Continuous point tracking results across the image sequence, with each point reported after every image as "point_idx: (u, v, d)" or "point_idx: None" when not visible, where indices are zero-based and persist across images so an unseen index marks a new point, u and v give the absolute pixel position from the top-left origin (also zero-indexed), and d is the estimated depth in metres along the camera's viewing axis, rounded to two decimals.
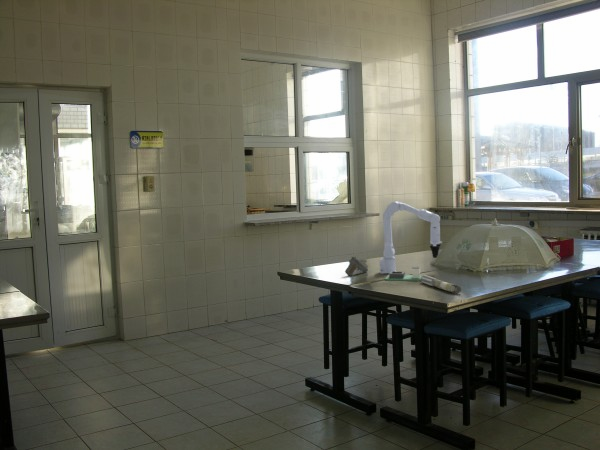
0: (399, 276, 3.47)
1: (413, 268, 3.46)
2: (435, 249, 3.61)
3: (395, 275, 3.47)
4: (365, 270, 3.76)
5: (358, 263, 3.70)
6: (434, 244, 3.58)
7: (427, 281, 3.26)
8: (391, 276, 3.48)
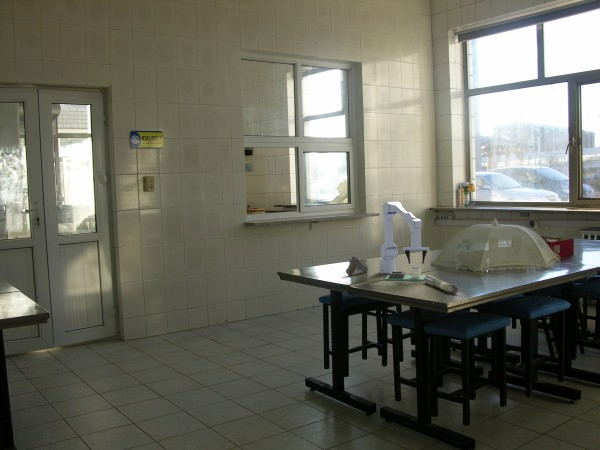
0: (399, 276, 3.47)
1: (413, 268, 3.46)
2: None
3: (395, 275, 3.47)
4: (366, 270, 3.76)
5: (359, 263, 3.70)
6: (403, 249, 3.49)
7: (429, 281, 3.27)
8: (391, 276, 3.48)
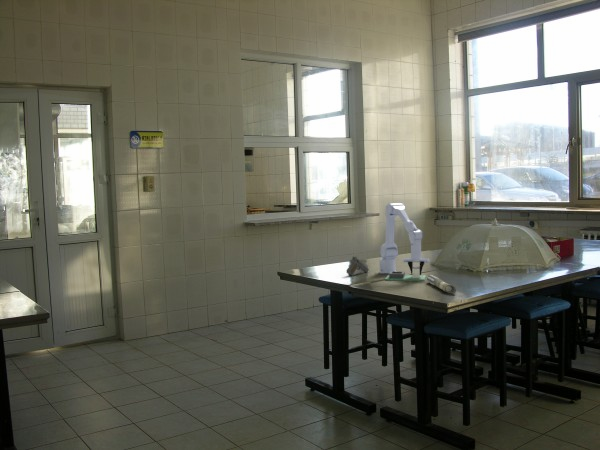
0: (399, 276, 3.47)
1: (413, 268, 3.46)
2: None
3: (395, 275, 3.47)
4: (366, 270, 3.77)
5: (359, 263, 3.71)
6: (403, 260, 3.50)
7: (430, 281, 3.27)
8: (391, 276, 3.48)
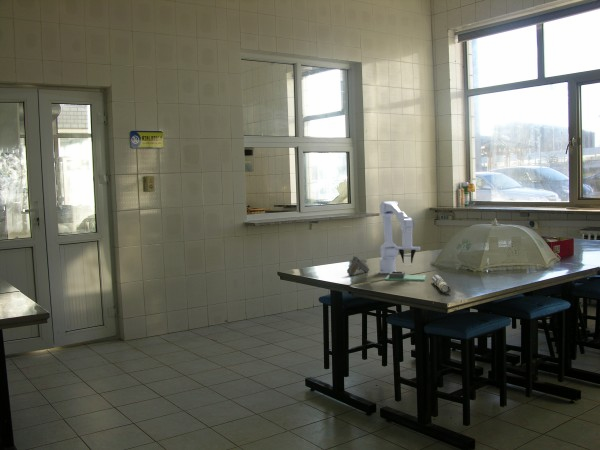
0: (399, 276, 3.47)
1: (404, 256, 3.47)
2: None
3: (395, 275, 3.47)
4: (367, 270, 3.77)
5: (360, 263, 3.71)
6: (394, 248, 3.51)
7: (433, 280, 3.27)
8: (391, 276, 3.48)
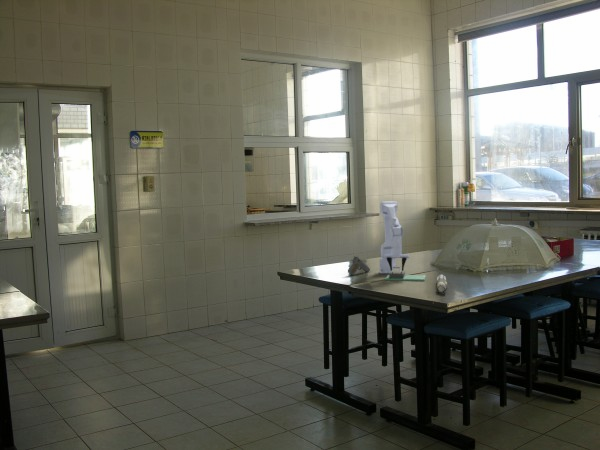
0: (399, 276, 3.47)
1: (394, 268, 3.49)
2: None
3: (395, 275, 3.47)
4: (367, 270, 3.78)
5: (360, 263, 3.72)
6: (384, 256, 3.53)
7: None
8: (391, 276, 3.48)
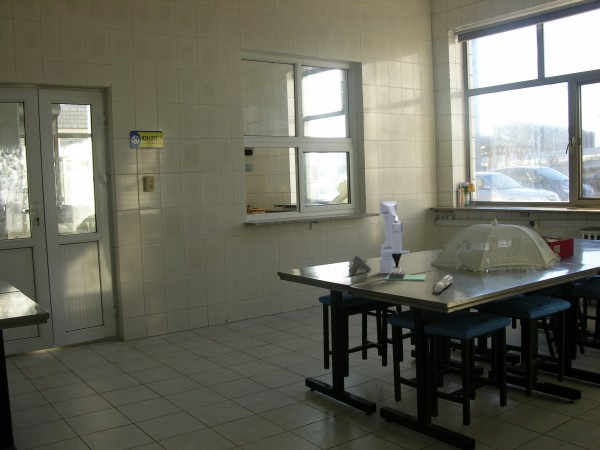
0: (399, 276, 3.47)
1: (394, 268, 3.49)
2: None
3: (395, 275, 3.47)
4: (368, 269, 3.78)
5: (361, 262, 3.72)
6: (384, 252, 3.53)
7: None
8: (391, 276, 3.48)
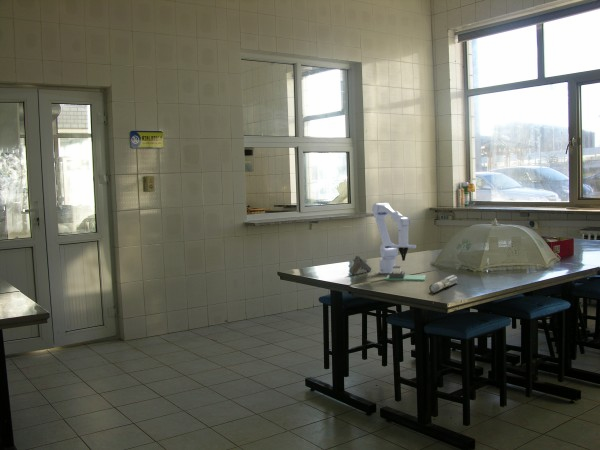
0: (399, 276, 3.47)
1: (394, 268, 3.49)
2: None
3: (395, 275, 3.47)
4: (369, 269, 3.79)
5: (362, 262, 3.73)
6: (391, 246, 3.60)
7: None
8: (391, 276, 3.48)
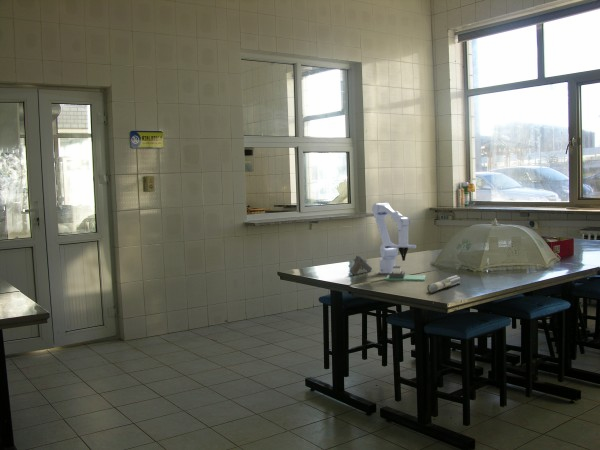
0: (399, 276, 3.47)
1: (394, 268, 3.49)
2: None
3: (395, 275, 3.47)
4: (369, 269, 3.79)
5: (362, 262, 3.73)
6: (391, 246, 3.60)
7: None
8: (391, 276, 3.48)
